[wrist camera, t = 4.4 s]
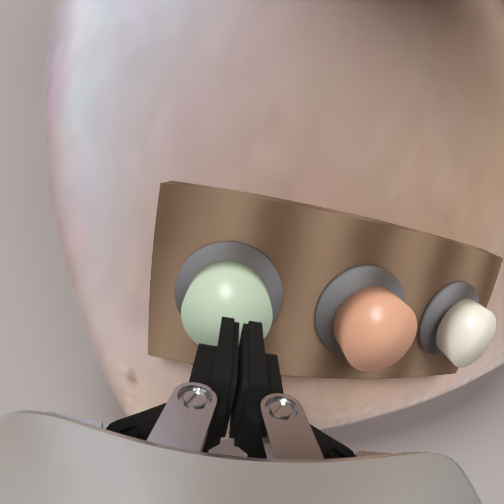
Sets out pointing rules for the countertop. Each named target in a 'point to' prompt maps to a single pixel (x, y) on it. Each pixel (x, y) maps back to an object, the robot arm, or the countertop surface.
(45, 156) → the countertop surface
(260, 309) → the button sage
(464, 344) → the button cream
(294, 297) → the console
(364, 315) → the button terracotta
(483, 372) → the countertop surface
